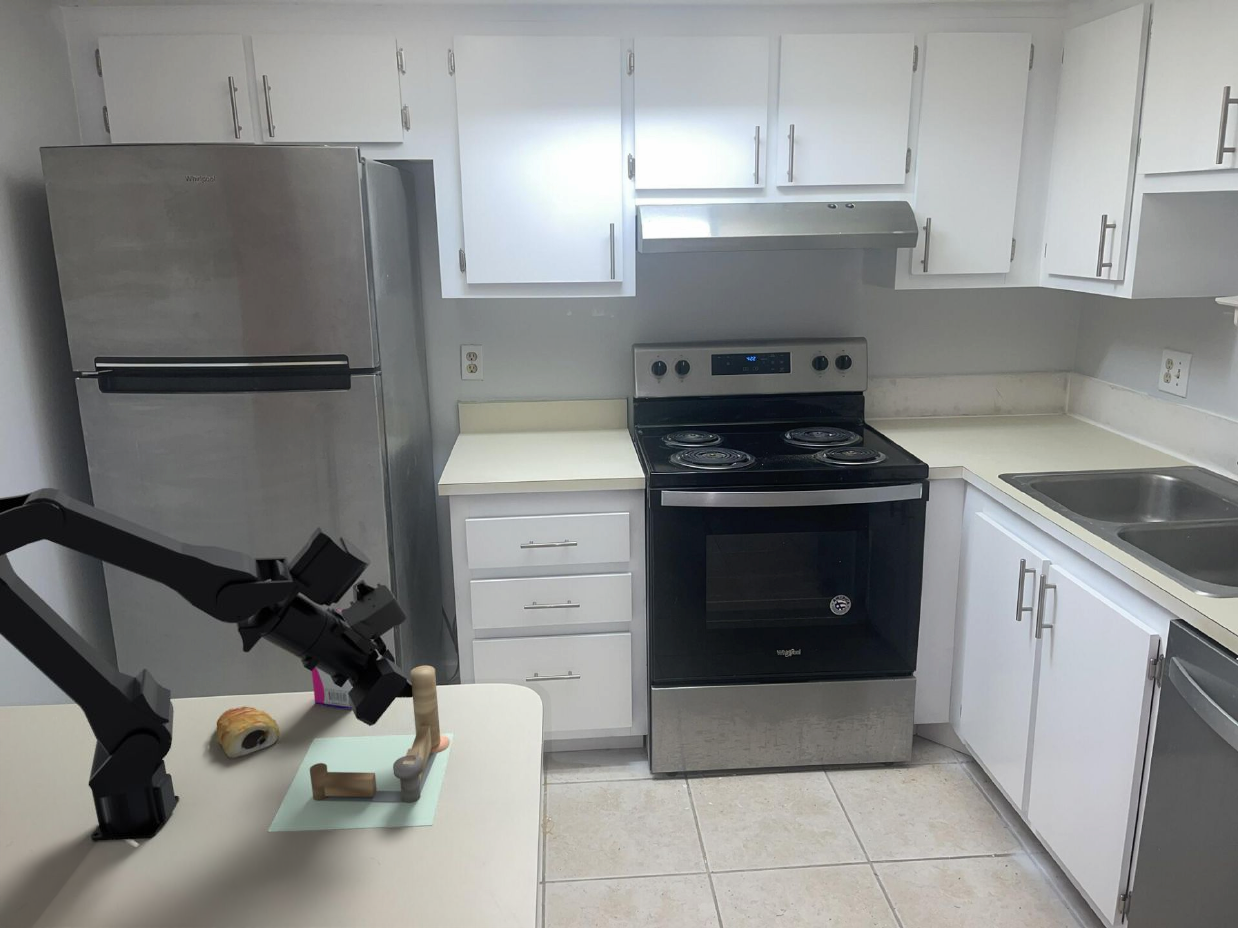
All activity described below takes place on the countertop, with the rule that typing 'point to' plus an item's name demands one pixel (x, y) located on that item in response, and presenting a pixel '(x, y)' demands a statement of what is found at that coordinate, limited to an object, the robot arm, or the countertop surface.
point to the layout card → (363, 811)
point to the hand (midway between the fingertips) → (414, 693)
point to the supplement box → (330, 690)
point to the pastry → (245, 731)
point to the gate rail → (421, 724)
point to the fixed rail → (355, 784)
